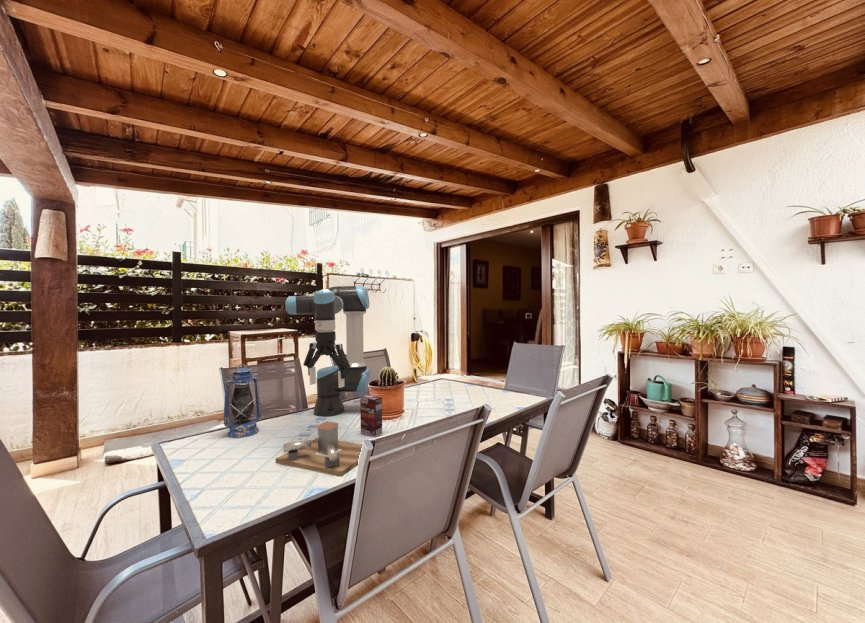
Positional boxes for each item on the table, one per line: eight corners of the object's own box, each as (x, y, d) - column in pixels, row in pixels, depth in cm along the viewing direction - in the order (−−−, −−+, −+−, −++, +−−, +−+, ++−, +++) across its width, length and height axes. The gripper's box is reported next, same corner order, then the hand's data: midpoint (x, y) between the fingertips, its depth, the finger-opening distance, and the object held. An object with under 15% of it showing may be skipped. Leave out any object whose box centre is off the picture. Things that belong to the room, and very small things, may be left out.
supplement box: (360, 434, 159) (359, 397, 159) (367, 430, 163) (367, 394, 163) (375, 437, 154) (375, 399, 154) (383, 434, 158) (382, 396, 158)
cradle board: (317, 441, 151) (317, 436, 151) (377, 450, 140) (377, 446, 140) (275, 462, 131) (275, 457, 131) (341, 476, 120) (341, 470, 120)
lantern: (230, 441, 152) (228, 368, 151) (218, 434, 160) (216, 365, 159) (267, 431, 164) (265, 363, 163) (255, 425, 172) (253, 360, 171)
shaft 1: (310, 453, 135) (310, 438, 135) (311, 457, 131) (311, 442, 131) (283, 457, 132) (283, 442, 132) (283, 462, 128) (283, 446, 128)
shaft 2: (323, 459, 129) (323, 444, 129) (336, 457, 131) (336, 442, 131) (326, 470, 121) (326, 454, 121) (340, 468, 122) (340, 451, 122)
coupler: (327, 448, 139) (326, 421, 139) (338, 449, 137) (337, 422, 137) (318, 453, 134) (317, 425, 134) (329, 455, 132) (329, 427, 132)
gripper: (292, 331, 145) (294, 385, 146) (346, 333, 135) (348, 390, 136) (306, 329, 152) (307, 380, 153) (358, 330, 142) (359, 385, 143)
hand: (326, 385), depth 145 cm, fingers open, 13 cm apart
